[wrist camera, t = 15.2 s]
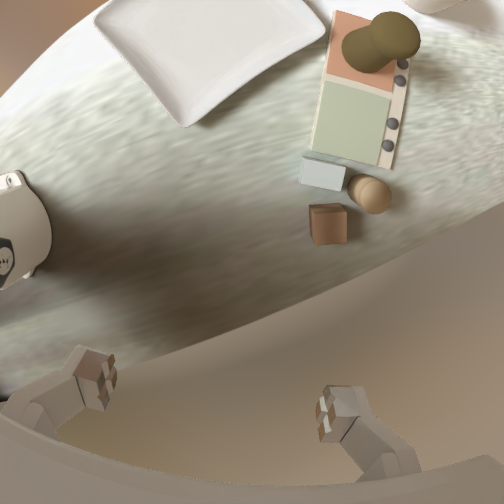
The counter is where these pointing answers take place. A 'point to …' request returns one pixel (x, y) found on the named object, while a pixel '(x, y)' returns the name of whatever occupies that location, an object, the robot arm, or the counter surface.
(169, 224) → the counter surface
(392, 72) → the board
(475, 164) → the counter surface
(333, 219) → the walnut cube
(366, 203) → the cork stopper
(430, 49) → the counter surface
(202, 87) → the salad plate
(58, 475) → the robot arm
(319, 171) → the soap box
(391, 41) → the pepper shaker
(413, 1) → the mug
